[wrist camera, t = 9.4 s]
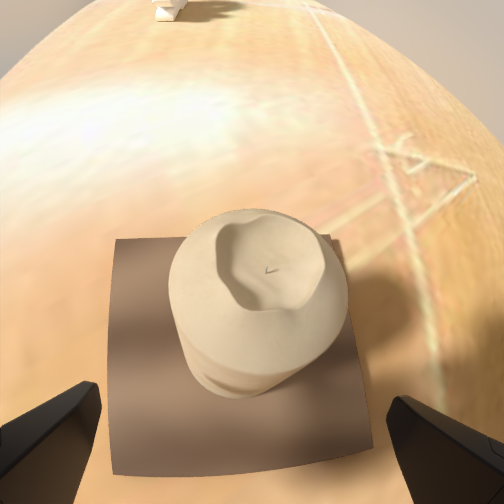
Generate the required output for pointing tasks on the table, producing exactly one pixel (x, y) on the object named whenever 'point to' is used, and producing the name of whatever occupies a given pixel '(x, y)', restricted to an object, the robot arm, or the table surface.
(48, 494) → the robot arm
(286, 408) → the walnut slab
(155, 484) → the table surface
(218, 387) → the candle
